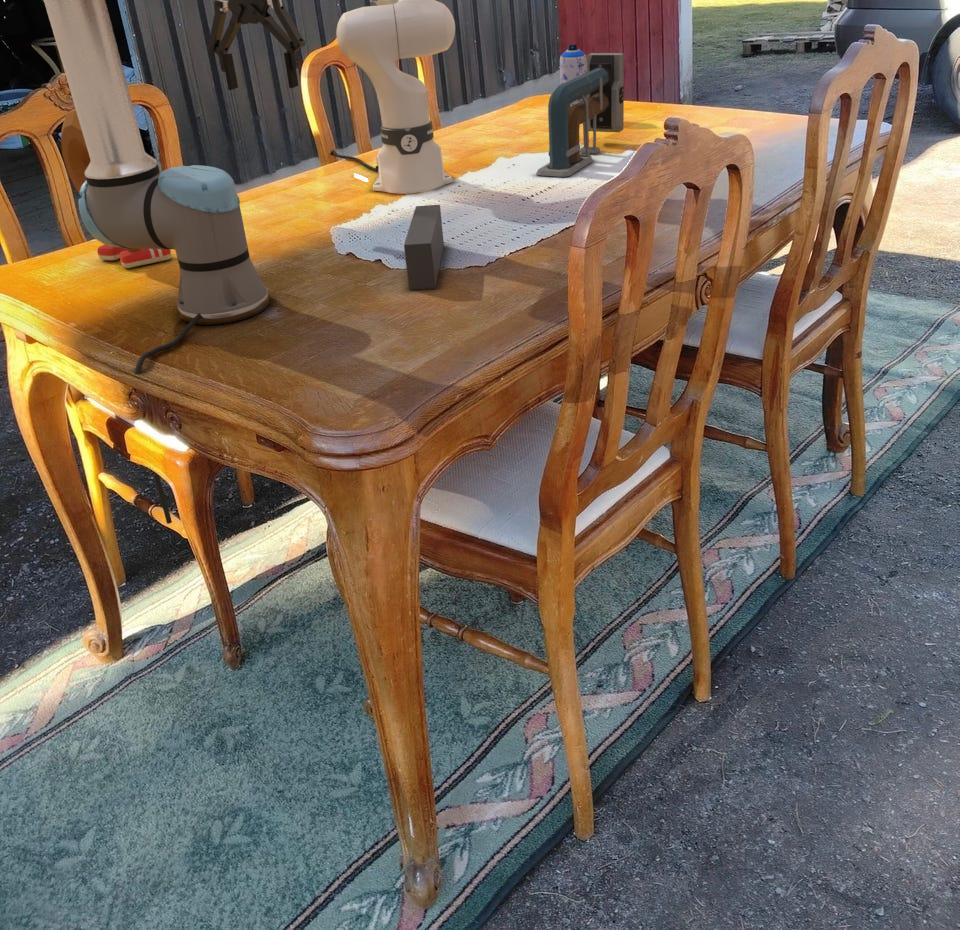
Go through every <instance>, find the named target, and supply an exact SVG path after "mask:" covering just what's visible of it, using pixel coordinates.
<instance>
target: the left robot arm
mask: <svg viewBox="0 0 960 930" xmlns="http://www.w3.org/2000/svg"><path fill="white" fill-rule="evenodd" d="M43 3H44V6H45V9H46V13H47V16H48V21H49V23H50V27H51V29H52V33H53V36H54V40H55V43H56V47H57V50H58V53H59V57H60V61H61V64H62V68H63V70H64V74H65V77H66V81H67V85H68V89H69V92H70V94H71V99H72V101H73V106H74V109H75V108H76V112H77V115H78V119H79V122H80V125H81V129H82V132H83V136H84V139H85V143H86V146H87V149H88V153H89V156H90V160H91V161H90V164H89V165H88V167H87V169H86V170H85V177H86V181H85V182H84V184H83V185H82V187H81V189H80V193H78V194H79V196H80V198H79V199H78V210H79V215H80V217H81V220H82V223H83V224H84V226H85V228H86V230H87V232H89V234H90V235H91V236H92V238H94V239H95V240H97V241H98V242H100V243H101V244H102V245H104V244H105V245H108V246H112V247H120V248H124V249H135V248H139V249H170V250H174V251H175V254H176V258H177V262H178V266H179V283H178V294H177V303H176V305H177V310H178V314H179V318H180V319H182V320H183V321H184V322H186V323H188V324H187V325H186V326H185V327H184V328H183V329H182V330H181V332H180V333H179V334H178V335H176V336H175V337H174V339H172V340H171V341H169V342H167V343H165V344H162V345H159V346H156V347H153V348H152V349H149V350H148V351H145V352H144V353H142V354H140V356H139V357H138V359H137V362H136V365H135V370H134V374H135V375H139V374H141V373H142V368H143V365H144V362H145V360H146V359H148V358H150V357H152V356H154V355H156V354H158V353H160V352H163V351H166V350H168V349H171V348H173V347H175V346H176V345H177V344H179V343H180V341H181V340H182V339H183V338H184V337H186V335H187V334H188V333H189V332H190V330H192V328H193V327H194V326H195V325H202V326H203V325H204V326H205V325H206V326H210V325H222V324H230V323H233V322H239V321H241V320H245V319H248V318H251V317H253V316H256V315H258V314H260V312H263V311H264V310H265V309H266V308H267V307H268V306H269V305H270V296H269V291H268V288H267V287H266V284H265V283H264V282H263V280H262V278H261V276H260V274H259V272H258V270H257V269H256V267H255V265H254V264H253V262H252V260H251V257H250V251H249V246H248V241H247V240H248V239H247V236H246V231H245V226H244V225H245V224H244V220H243V216H242V210H241V206H240V203H241V199H240V196H239V194H238V191H237V188H236V184H235V181H234V179H233V177H232V176H231V175H230V173H228V172H227V171H225V170H223V169H221V168H218V167H214V166H210V165H199V164H193V165H187V166H186V165H178V166H173V167H169V168H166V169H164V170H162V171H160V166H159V164H158V160H157V159H156V158H154V157H153V156H152V155H150V154H148V153H147V152H146V151H145V147H144V142H143V139H142V135H141V132H140V128H139V123H138V120H137V116H136V113H135V108H134V105H133V101H132V97H131V93H130V90H129V86H128V82H127V79H126V75H125V70H124V67H123V64H122V59H121V56H120V55H121V54H120V53H119V49H118V48H119V47H118V44H117V41H116V40H117V39H116V37H115V33H114V29H113V25H112V21H111V18H110V12H109V10H108V6H107V3H106V0H43ZM213 8H214V9H213V10H214V14H213V19H212V25H211V29H210V35H209V39H208V43H207V50H208V52H209V53H214V54H216V55H217V56H218V61H219V66H220V70H221V72H222V73H224V74H225V79H226V85H227V89H228V91H232V90H236V89H238V88H239V85H238V79H237V78H238V77H237V74H236V67H235V64H234V63H235V62H234V58H233V57H234V56H233V53H229V52H230V49H231V48H230V47H231V46H232V44H233V42H234V40H235V38H236V36H237V34H238V31H239V29H240V27H241V26H242V25H248V24H253V25H255V24H256V25H257V24H260V25H262V26H264V27H265V28H266V30H268V31H269V32H270V34H271V35H272V36H273V37H274V38H275V39H276V40H277V41H278V43H280V45H282V47H283V48H284V49H285V52H283V57H284V63H285V70H286V75H287V81H288V88H289V89H294V88H296V87H298V86H299V79H298V73H297V69H299V68H300V61H299V55H298V51H299V50H300V49H301V48H303V47H305V46H306V41H305V39H304V38H303V36H302V34H301V32H300V31H299V29H298V27H297V26H296V24H295V22H294V21H293V18H292V17H291V15H290V14H289V12H288V10H287V8H286V6H285V2H284V0H214V1H213ZM269 8H271V9H272V10H273V11H274V13H275V15H276V17H277V18H278V21H279V22H280V24H281V25H282V27H283V28H282V27H281V26H280V24H278V23H277V21H276V20H275V17H273V15H272V14H271V13H270V12H269V11H268V10H269ZM229 10H230V12H231V13H232V15H231V17H230V19H229V22H228V23H229V24H228V26H227V28H226V30H225V31H224V27H225V23H226V17H227V12H228V11H229ZM223 31H224V33H223ZM152 476H153V479H154V483H155V486H156V490H157V492H158V497H159V500H160V503H161V506H162V507H161V508H162V511H163V514H164V518H165V522H166V524H167V525H169V524H171V523H173V520H172V517H171V512H170V508H169V506H168V502H167V498H166V494H165V490H164V488H163V486H162V481H161V478H160V475H159V474H154V475H152Z"/></svg>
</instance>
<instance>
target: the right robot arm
mask: <svg viewBox="0 0 960 930" xmlns="http://www.w3.org/2000/svg"><path fill="white" fill-rule="evenodd" d="M369 3H374V4H375V5H369V6H362V7H358V8H355V9H352V10H349V11H346V12H343V13H342V15H341V16H340V17H339V20H338V22H337V25H336V34H335V35H336V41H337V45H338V47H339V49H340V51H341V53H342V55H344V56H345V58H347V59H348V60H350V61H351V62H353V63H354V64H355V65H357V66H358V67H359V68H360V69H361V70H362V71H363V72H364V73H365V74H366V76H367V77H368V78H369V80H370V81H371V83H372V85H373V88H374V90H375V94H376V97H377V102H378V107H379V113H380V121H381V126H380V128H379V129H380V137H381V143H382V146H381V148H380V150H379V151H378V152H377V153H376V154H377V156H376V166H375V167H374V166H372V165H370V164H368V163H366V162H364V161H363V160H361V159H360V158H358V157H355V156H349V155H342V154H338V153H337V152H336V150H335V149H331V151H330V152H329V154H330V156H332V155H334V156H335V157H336V158H340V159H344V160H351V161H356V162H358V163H360V164H361V166H364V167H365V168H366V169H369V170H371V171H373V172H376V173H377V174H378V176H377V178H376V180H375V182H374V183H373V184H372V191H374V192H384V193H389V194H397V195H398V194H399V195H400V194H401V195H405V194H407V195H408V194H417V193H418V194H419V193H424V192H429V191H432V190H435V189H436V190H437V189H438V188H440V187H442V186H444V185H449V184H451V183H454V181H453V177H452V176H451V175H450V174H448V173H446V172H445V170H444V159H443V152H442V147H441V146H440V145H439V144H438V143H437V142H435V140H434V137H435V136H434V127H433V121H432V120H431V116H430V106H429V105H430V104H429V96H428V95H429V93H428V90H427V86H426V85H425V83H424V82H423V81H422V80H420V79H419V78H417V77H415V76H413V75H412V74H408V73H406V72H404V71H402V70H400V69H399V68H398V67H397V64H396V62H397V60H400V59H401V60H402V59H412V58H422V57H423V58H424V57H430V56H433V55H437V54H440V53H443V52H445V51H448V50H449V49H450V47H451V46H452V44H453V42H454V39H455V34H456V23H455V19H454V15H453V14H452V11H451V10H450V9H449V8H448V7H447V5H445V4H444V3H443V2H440V1H438V0H369ZM353 175H354V178H356V179H358V180H361V181H363V182H366V183H367V182H369V180H368V178H367V177H364V176H362V175H361V174H360V175H359V174H357V173H354V174H353Z"/></svg>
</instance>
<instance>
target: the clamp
mask: <svg viewBox="0 0 960 930" xmlns="http://www.w3.org/2000/svg"><path fill="white" fill-rule="evenodd" d="M624 56H625V55H624V53H623V52H603V53H602V52H600V53H599V52H591V53H589V54H587V55H586V58H587V73H585V74H583V75H581V76H579V77H577V78H574V79H572V80H570V81H568V82H566V83H564V84H561V85H560V84H559V85H558V86H557V87H556V88H555V89H554V91H553V92H552V93H551V94H550V96H549V99H548V105H547V107H548V108H547V117H548V118H547V119H548V144H549V145H548V147H549V149H548V156H549V162H548V163H546V164H545V165H542V166H541V167H539V168H538V169H537V171H536V173H535V174H536V175H537V176H544V177H559V178H560V177H561V178H565V177H570V176H572V175H573V174H575V173H576V172H578V171H579V170H581V169H583V168H584V167H586V166H588V165H589V164H591V163H592V162H593V161H594V159H593V157H592V155H591V154H594V155H595V154H598V153H600V152H601V148H600V147H598V146H597V132H598V133H621V132H622V131H623V130H624V129H625V127H624V125H625V124H624V122H625V120H624V119H625V117H624V116H625V115H624V109H625V106H624V103H625V101H624V99H625V97H624V90H625V89H624V87H625V86H624V85H625V83H624V82H625V81H624V80H625V79H624V75H625V74H624V73H625V72H624V71H625V70H624V69H625V67H624V66H625V65H624V64H625V62H624V61H625V57H624ZM581 99H582V100H583V101H581V102H579V103H577V104H575V105H573V106H571V107H570V103H572V102H574V101H576V100H581ZM581 124H582V133H583V134H582V135H583V137H582V139H583V146H582V147H581V143H580V127H581ZM590 132H593V134H592V146H590Z"/></svg>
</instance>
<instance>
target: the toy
mask: <svg viewBox="0 0 960 930" xmlns="http://www.w3.org/2000/svg"><path fill="white" fill-rule="evenodd" d="M60 144H61V145H60V146H61V155H62V158H63V161H64V166H65V168H66V171H67V174H68V177H69V178H70V180H71V182H72V185H73V187H74V189H75V190H76V191H77V193H78V194H79V193H80V189H81V187H82V185H83V184H84V182H85V181H86V177H85V170H86V169H87V167H88V165H89V164H90V161H91V160H90V156H89V153H88V149H87V146H86V143H85V139H84V136H83V132H82V129H81V125H80V122H79V119H78V115H77V112H76V108H75V107H74V108H73V109H71V110H70V111H68V112H66V113H65V117H64V120H63V124H62V126H61V134H60ZM97 255H98V258H99V259H100V260H102V261H116V260H120V264H121V265H122V267H124V268H126V269H131V268H136V267H140V266H145V265H149V264H153V263H158V262H159V263H160V262H164V261H168V260H171V258H172V252H171V249H139V248H135V249H124V248H120V247H112V246H108V245H105V244H102V245H100V246H98V247H97Z"/></svg>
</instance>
